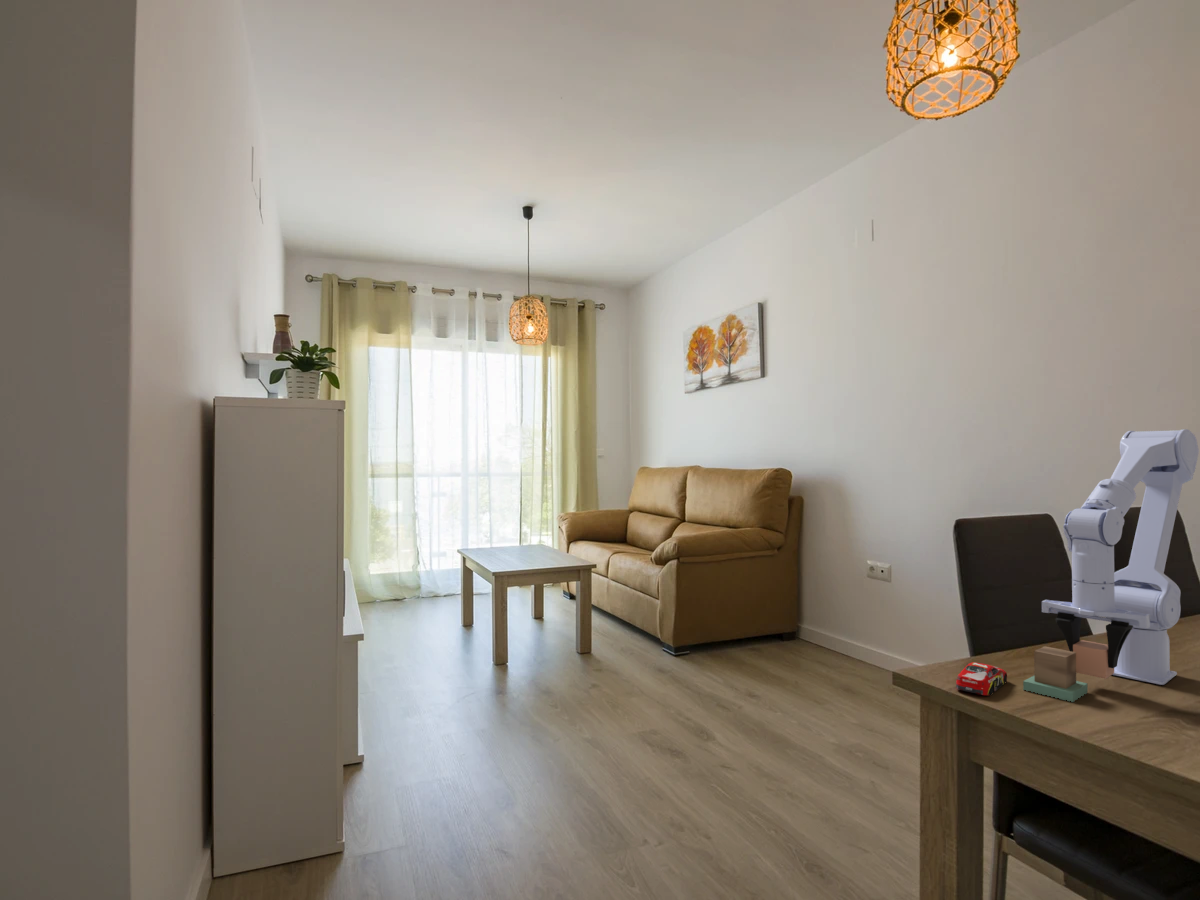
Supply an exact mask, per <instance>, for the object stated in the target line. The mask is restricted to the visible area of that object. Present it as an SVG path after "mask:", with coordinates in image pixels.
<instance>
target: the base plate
mask: <svg viewBox="0 0 1200 900" xmlns="http://www.w3.org/2000/svg"><path fill="white" fill-rule="evenodd" d="M1088 684H1089V683H1086V682H1082V681H1079V680H1076V683H1075V684H1074V685H1072V686H1070V687H1068V688H1067V689H1065V688H1061V687H1056V686H1052V685H1048V684H1043V683H1039V682H1035V676H1034V675H1032V676H1030V677H1029V678H1027V679H1024V680H1023V682H1022V685H1023V686H1022V691H1024V690H1026V691H1025V692H1028V691H1031V692H1030V693H1033V692H1035V693H1034V694H1037V693H1038V694H1037V695H1041V694H1042V696H1045V695H1047V696H1046V697H1049V696H1051V697H1050V698H1053V697H1055V698H1054V699H1057V698H1059V699H1058V700H1061V701H1062V700H1063V701H1066V700H1067V702H1070V701H1071V702H1070V703H1074V702H1075V700H1076V701H1077V700H1079V699H1081V698H1082V697H1084V696H1085V695H1087V694H1088V693H1087V692H1088ZM1084 694H1085V695H1084ZM1081 696H1082V697H1081ZM1078 698H1079V699H1078Z"/></svg>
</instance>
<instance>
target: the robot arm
mask: <svg viewBox="0 0 1200 900" xmlns="http://www.w3.org/2000/svg"><path fill="white" fill-rule="evenodd" d="M1199 452H1200V451H1199V445H1198V440H1197V437H1196V434H1194V433H1193V432H1192V431H1191V430H1190V429H1188V428H1185V429H1184V428H1183V429H1182V428H1181V429H1179V430H1176V429H1175V430H1172V429H1171V430H1145V431H1144V430H1143V431H1142V430H1141V431H1138V430H1137V431H1136V430H1128V431H1126V432H1125V433H1124V434H1123V436H1122V437H1121V438H1120V440H1119V453H1120V459H1119V461H1118V463H1117V465H1116V467H1115V468H1114V471H1113V473H1112V474H1111V476H1110V478H1104V479H1102V480H1100V481H1099V482H1098V483H1097V485H1096V486H1095V487H1094V489H1093V490H1092V491H1091V493H1090V494H1089V496H1088V497H1087V498H1086V499H1085V501H1084V503H1083V504H1081V506H1080V508H1079V507H1077V508H1074V509H1073V510H1070V511H1068V513H1067V514H1066V515H1065V517H1064V524H1063V527H1062V529H1063V534H1064V536H1065V538H1066V541H1067V549H1068V551H1069V552H1071V591H1072V592H1071V594H1072V595H1071V596H1072V597H1071V601H1072V602H1071V601H1060V600H1050V599H1044V600H1042V601H1041V613H1046V614H1050V613H1051V614H1055V615H1057V616H1056V617H1055V623H1056V625H1057V626H1058V629H1060V631H1061V633H1062V635H1063V636H1064V639H1065V642H1066V644H1067V647H1068V648H1067V649H1068V651H1071V652H1073V645H1074V644H1076V643H1077V642H1079V641H1081V639H1080V638H1081V628H1082V627H1081V625H1082V619H1087V620H1088V619H1090V620H1095V621H1103V622H1108V624H1106V625H1105V632H1106V637H1107V645H1108V667H1109V668H1114V674H1112V675H1113V676H1116V677H1121V678H1125V679H1131V680H1135V681H1140V682H1146V683H1151V684H1154V685H1155V684H1156V685H1159V686H1161V685H1162V686H1164V685H1166V684H1167V683H1168V682H1169V681H1170V680H1172V679H1173V678H1174V677H1175V676H1176V675H1178V673H1177V671H1174V670H1171V669H1170V663H1171V662H1170V660H1171V659H1170V637H1169V635H1168V630H1169V629H1172V628H1173V627H1174V626H1175V625H1176V624H1177V623H1178V622H1179V620H1180V617H1181V607H1182V606H1181V594H1182V593H1181V589H1180V587H1179V585H1177V583H1176V582H1175V581H1174V580H1172V578H1170V577H1169V576H1168V575H1166V574H1165V573H1164V572H1165V569H1166V562H1167V560H1168V555H1169V549H1170V546H1171V545H1170V544H1171V539H1172V535H1173V531H1174V525H1175V520H1176V518H1177V517H1176V516H1177V511H1178V507H1179V503H1180V498H1181V492H1182V488H1183V485H1184V484H1185V483H1188V482H1189V481H1191V480H1193V478H1194V475H1195V472H1196V469H1197V468H1196V467H1197V463H1198V458H1199ZM1140 482H1142V483H1144V484H1145V490H1144V494H1143V499H1142V504H1141V506H1140V507H1141V508H1140V512H1139V517H1138V521H1137V524H1136V525H1137V526H1136V530H1135V535H1134V539H1133V543H1132V547H1131V548H1132V549H1131V552H1130V557H1129V561H1128V565H1127V566H1126V567H1124V568H1121V569H1118V570H1116V571H1115V545H1116V544H1117V543H1118V542H1119V541H1120V540H1121V538H1122V536H1123V535H1122V534H1123V527H1124V525H1125V518H1124V517H1125V515H1126V514H1127V513H1128V511H1129V510H1130V509H1131V507H1132V505H1133V504H1134V502H1135V501H1136V498H1137V494H1136V491H1135V488H1136V487H1137V485H1138V484H1139V483H1140ZM1112 675H1111V676H1112Z"/></svg>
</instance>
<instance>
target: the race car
mask: <svg viewBox="0 0 1200 900" xmlns="http://www.w3.org/2000/svg"><path fill="white" fill-rule="evenodd" d="M1007 678H1008V674H1007V672H1006V670H1005V669H1003V668H1000V667H998V666H996V665H995V666H994V665H991V664H986V663H983V662H982V663H980V662H973V661H972V662H969V663H967V664H966V666H965V667H964V668H963V669H962V670H961V671H960V673H958V674H957V676H956V681H955V682H956V683H955V689H957V690H959V691H962V692H963V691H964V692H967V693H972V694H976V695H981V696H989V695H991V694H992V693H993V694H994V693H995V692H996V691H998V690H999V689H1000V688H1001V687H1003V685H1005V684H1006V683H1007V681H1008V679H1007ZM1005 682H1006V683H1005ZM1004 683H1005V684H1004ZM993 694H992V695H993ZM992 695H991V696H992Z"/></svg>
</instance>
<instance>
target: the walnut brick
mask: <svg viewBox="0 0 1200 900" xmlns="http://www.w3.org/2000/svg"><path fill="white" fill-rule="evenodd" d="M1033 652H1034V653H1033V655H1034V657H1033V658H1034V663H1033V664H1034V666H1033V667H1034V675H1033V676H1035V682H1039V683H1043V684H1048V685H1052V686H1056V687H1061V688H1065V689H1067V688H1068V687H1070V686H1072V685H1074V684H1075V683H1076V681H1077V673H1076V652H1071V651H1069V650H1065V649H1060V648H1055V647H1050V646H1045V645H1044V646H1042V647H1041V648H1038V649H1035V650H1034V651H1033Z"/></svg>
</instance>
